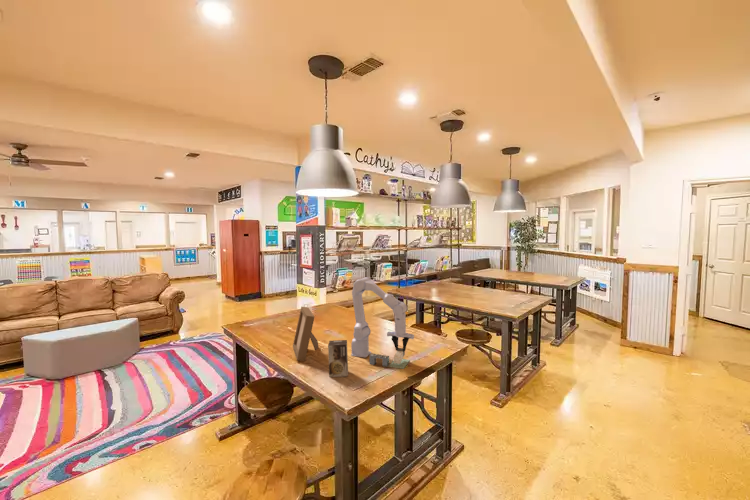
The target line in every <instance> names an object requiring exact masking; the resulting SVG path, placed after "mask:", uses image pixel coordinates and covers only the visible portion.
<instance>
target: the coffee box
mask: <svg viewBox="0 0 750 500" xmlns="http://www.w3.org/2000/svg"><path fill="white" fill-rule="evenodd" d="M327 349H328V352H327V353H328V373H329V374H328V376H329V378H335V377H336V378H337V377H340V378H341V377H348V375H349V363H348V361H349V360H348V359H349V357H348V339H338V340H329V341H328V345H327Z"/></svg>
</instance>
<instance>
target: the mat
mask: <svg viewBox="0 0 750 500" xmlns="http://www.w3.org/2000/svg"><path fill="white" fill-rule="evenodd" d="M409 362H410V359H405V358H403V359H402V361H401V363H400V364H397V363H394V360H392V361H391V363H389V366H388V367H390V368H396V369H401V370H404V369H405V368H406V366H407V365H408V364H409Z"/></svg>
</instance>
